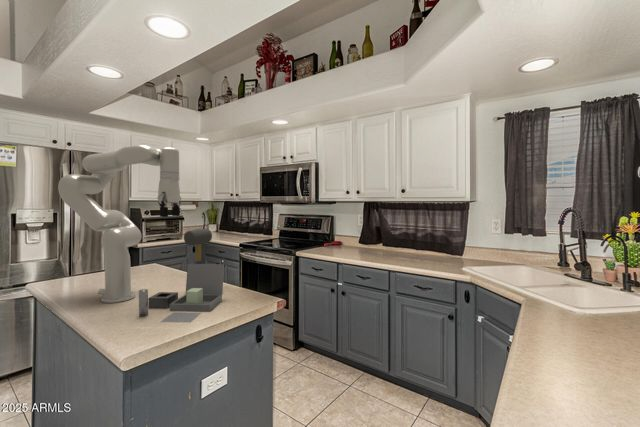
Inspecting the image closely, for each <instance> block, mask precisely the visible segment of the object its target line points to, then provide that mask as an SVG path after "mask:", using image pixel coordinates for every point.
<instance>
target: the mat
mask: <svg viewBox="0 0 640 427" xmlns="http://www.w3.org/2000/svg"><path fill="white" fill-rule="evenodd" d="M201 314H202V312H171V313H170V314H169V315H168V316H166V317H164V318H163V319H161V320H160V322H161V323H192V322H193V321H195V320H196V318H198V317H199V316H200V315H201Z"/></svg>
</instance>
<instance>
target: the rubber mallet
mask: <svg viewBox="0 0 640 427" xmlns="http://www.w3.org/2000/svg"><path fill="white" fill-rule="evenodd" d="M212 237H213V234H212V231H211V230H210V229H208V228H197V229H192V230H187V231H185V233H184V234H183V240H184V243H185V244H186V245H188V246H195V261H194V264H203V261H202V245H204V244H207V243H210V242H211V241H212Z"/></svg>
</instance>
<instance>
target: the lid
mask: <svg viewBox="0 0 640 427" xmlns="http://www.w3.org/2000/svg"><path fill="white" fill-rule="evenodd" d="M186 271H187V272H186V281H185V282H186V283H185V293H186V292H187V291H188V290H190V289H191V288H203V295H222V296H223V293H224V292H223V291H224V275H225V273H224V272H225V264H224V263H222V264H220V263H217V264H215V263H202V264H195V263H187V268H186Z"/></svg>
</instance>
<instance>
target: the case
mask: <svg viewBox="0 0 640 427" xmlns="http://www.w3.org/2000/svg"><path fill="white" fill-rule="evenodd" d="M222 301H223V295H203V304H186V293H185V294H184V295H182V296H180V297H178V299H177V300H176V301H174V302H172V303H171V304H170V307H169V311H170V312H172V311H173V312H176V311H177V312H211V311H212V310H213V309H214V308H216V307H217V306H218V305H219V304H220V303H221V302H222Z"/></svg>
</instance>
